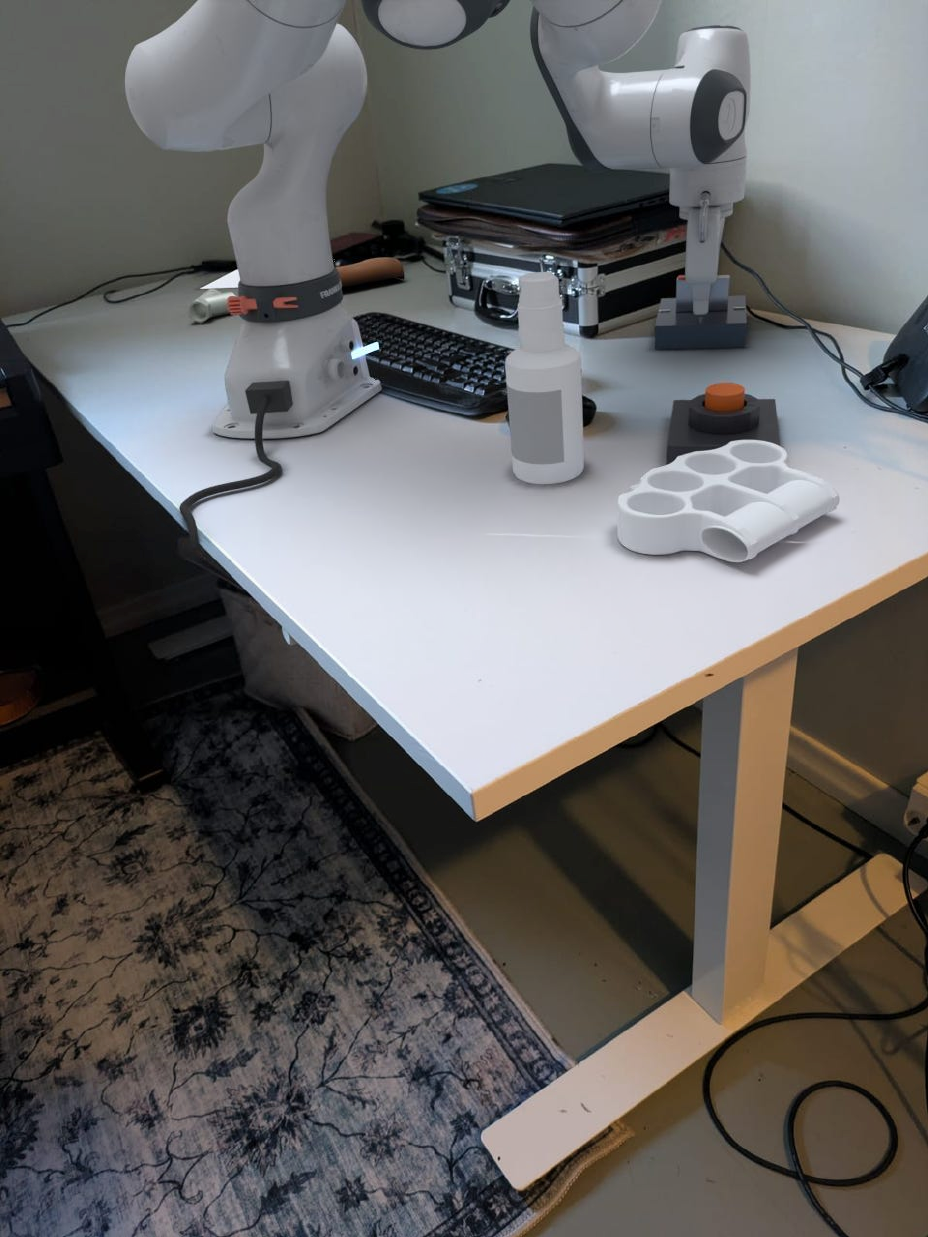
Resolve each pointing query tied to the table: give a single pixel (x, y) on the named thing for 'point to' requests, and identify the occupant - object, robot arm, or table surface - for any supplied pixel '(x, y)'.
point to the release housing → (719, 425)
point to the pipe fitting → (209, 305)
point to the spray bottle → (544, 388)
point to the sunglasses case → (371, 271)
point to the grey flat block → (701, 326)
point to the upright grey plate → (716, 295)
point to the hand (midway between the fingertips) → (702, 302)
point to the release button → (724, 397)
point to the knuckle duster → (721, 502)
